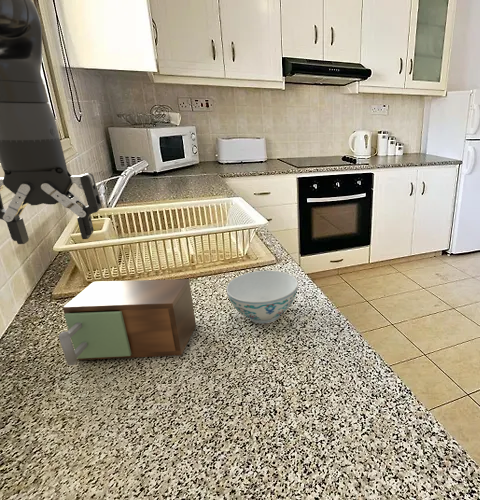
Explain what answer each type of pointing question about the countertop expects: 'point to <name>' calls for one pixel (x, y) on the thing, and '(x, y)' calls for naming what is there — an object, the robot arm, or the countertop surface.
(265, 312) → the chinaware
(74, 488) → the countertop surface
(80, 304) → the cupboard
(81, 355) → the slide door
